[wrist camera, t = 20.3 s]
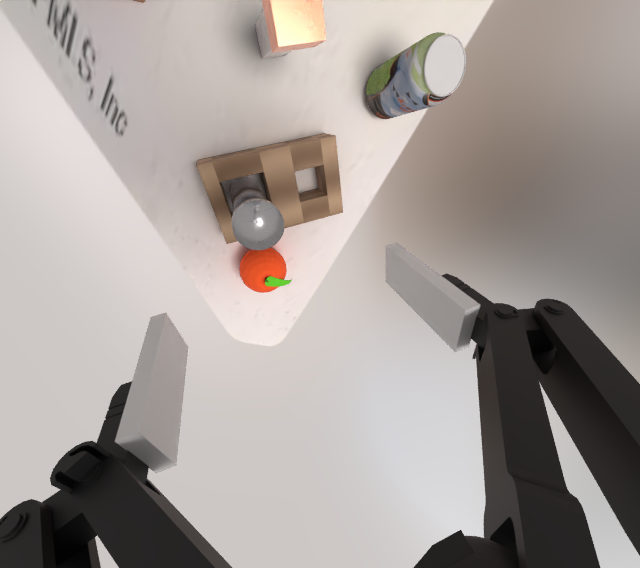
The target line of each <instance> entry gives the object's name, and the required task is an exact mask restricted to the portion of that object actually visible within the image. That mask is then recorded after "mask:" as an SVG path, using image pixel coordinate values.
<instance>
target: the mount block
mask: <svg viewBox="0 0 640 568" xmlns="http://www.w3.org/2000/svg"><path fill="white" fill-rule="evenodd" d="M196 166H197V168H198V171H199V174H200V176H201V179H202V181H203V184H204V187H205V189H206V192H207V194H208V197H209V199H210V202H211V205H212V207H213V210H214V212H215V215H216V217H217V220H218V223H219V225H220V228H221V230H222V233H223V235H224V238H225V241H226V243H227V244H228V243H232V242H236V241H238V240H237V239H236V238H235V236H234V233H233V230H232V213H231V210H230V207H229V204H228V201H227V199H226V196H225V193H224V190H223V187H222V184H221V182H222V181H226V180H231V179H235V178H240V177H244V176H248V175H253V174H257V173H261V174H262V178H263V182H264V186H265V190H266V193H267V197H268V201H270V202H272V203H273V204H274V205H275V206H276V207H277V208H278V210H279V211H280V213H281V214H282V216H283V219H284V228H287V227H291V226H295V225H298V224H302V223H306V222H309V221H313V220H317V219H320V218H324V217H328V216H332V215H335V214H339V213H343V207H342V197H341V187H340V177H339V166H338V156H337V146H336V136H335V135H330V134H325V133H324V134H319V135H315V136H310V137H305V138H300V139H296V140H291V141H286V142H281V143H277V144H272V145H267V146H262V147H258V148H253V149H248V150H243V151H239V152H234V153H229V154H225V155H220V156H215V157H210V158H206V159H201V160H198V161H197V165H196ZM311 167H316V174H317V181H318V188H319V189H315V190H311V191H307V192H303V193H298V188H297V183H296V178H295V172H294V171H299V170H303V169H307V168H311Z"/></svg>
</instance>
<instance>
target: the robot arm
mask: <svg viewBox="0 0 640 568" xmlns="http://www.w3.org/2000/svg"><path fill="white" fill-rule="evenodd" d="M386 282H387V283H388V284H389V285H390V286H391V287H392V288H393V289H394V290H395V291H396V292H397V293H398V294H399V295H400V297H402V299H403V300H404V301H405V302H406V303H407V304H408V305H409V306H411V308H412V309H413V310H414V311H415V312H416V313H417V314H418V315H419V316H420V317H421V318H422V319H423V320H424V321H425V322H426V323H427V324H428V325H429V326H430V327H431V328H432V329H433V330H434V331H435V332H436V333H437V334H438V335H439V336H440V337H441V338H442V339H443V340H444V341H445V342H446V343H447V344H448V345H449V346H450V347H451V348H452V349H453V350H454V351H455V352H457V351H460V350H462V349H465V348H467V347H469V343H470V340H471V339H473V341H475V342H476V343H477V345H476V348H475V351H474V354H473V359H475V358H476V362H477V377H478V391H479V406H480V421H481V436H482V450H483V465H484V480H485V494H486V506H485V513H484V538H481V537H477V536H464V534H463V533H462V531H461V530H460V531H458V532H456V533H454V534H452V535H450V536H449V537H447V538H445V539H443V540H441V541H439V542H438V543H436V544H434V545H432V546H431V548H430V549H429V550H428V551H427V553H426V554H425V555H424V556H423V557H422V559H421V560H420V561H419V562H418V563H417V564H416V565H415V567H414V568H600V565H599V562H598V558H597V555H596V551H595V548H594V544H593V541H592V537H591V534H590V530H589V527H588V523H587V520H586V516H585V513H584V511H583V508H582V506H581V504H580V502H579V501H578V499H577V498H576V497H574V496H573V495H572V494H570V493H569V491H568V489H567V487H566V484H565V481H564V477H563V473H562V469H561V465H560V462H559V457H558V454H557V450H556V446H555V442H554V438H553V434H552V430H551V426H550V423H549V419H548V415H547V411H546V407H545V403H544V399H543V396H542V392H541V388H540V384H539V382H540V383H541V385H542V387H543V389H544V391H545V393H546V394H547V396H548V398H549V400H550V401H551V403H552V405H553V407H554V408H555V410H556V412H557V414H558V415H559V417H560V419H561V420H562V422H563V424H564V426H565V427H566V429H567V431H568V433H569V435H570V436H571V438H572V440H573V442H574V443H575V445H576V447H577V449H578V450H579V452H580V454H581V455H582V457H583V459H584V461H585V463H586V464H587V466H588V468H589V470H590V471H591V473H592V475H593V476H594V478H595V480H596V482H597V484H598V485H599V487H600V489H601V491H602V492H603V494H604V496H605V498H606V499H607V501H608V503H609V505H610V506H611V508H612V510H613V512H614V513H615V515H616V517H617V519H618V520H619V522H620V524H621V526H622V527H623V529H624V531H625V533H626V534H627V536H628V537H629V539H630V541H631V542H632V544H633V546H634V547H635V549H636V550H637V552H638V554H639V555H640V384H639V383H638V382H637V381H636V379H635V378H634V377H633V376H632V375H631V374H630V373H629V372H628V371H627V370H626V368H625V367H624V366H623V365H622V364H621V363H620V362H619V360H617V358H616V357H615V356H614V355H613V354H612V353H611V352H610V350H609V349H608V348H607V347H606V346H605V345H604V344H603V343H602V341H601V340H600V339H599V338H598V337H597V336H596V335H595V334H594V333H593V331H592V330H591V329H590V328H589V327H588V326H587V325H586V324H585V323H584V321H583V320H582V319H581V318H580V317H579V316H578V315H577V313H576V312H575V311H574V310H573V309H572V308H571V307H570V306H568V305H567V304H565V303H563V302H561V301H558V300H554V299H541V300H539V301H537V303H536V305H535V308H531V309H520V310H517V309H516V308H515V307H512V306H510V305H507V304H502V303H495V304H494V303H492V302H491V301H489V300H488V299H487V298H485V297H484V296H482V295H481V294H479V293H478V292H477V291H475V290H474V289H472V288H470V286H468V285H467V284H464V282H462V281H461V280H459V279H458V278H457V277H454V276H451V275H449V274H444V275H442V276H441V275H440V274H438V273H437V272H435V271H434V270H433V269H432V268H430V267H429V266H427V265H426V264H425V263H423V262H422V261H421V260H420V259H418V258H417V257H416V256H414V255H413V254H411V253H410V252H409V251H407V250H406V249H405V248H403V247H402V246H401V245H399V244H398V243H394V244H391V245H387V246H386ZM187 352H188V346H187V344H186V343H185V341H184V340H183V338H182V337H181V335H180V334H179V332H178V330H177V329H176V327H175V326H174V325H173V323H172V321H171V320H170V318H169V317H168V315H167V314H166V313H163V314H160V315H157V316H153V317H151V318H150V322H149V326H148V329H147V332H146V336H145V339H144V343H143V346H142V349H141V353H140V356H139V360H138V363H137V367H136V370H135V374H134V377H133V380H132V382H129V383H126V384H123V385H121V386H120V387H119V389H118V390H117V391H116V393H115V394H114V396H113V397H112V400H111V403H110V406H109V411H108V412H107V415H106V417H105V418H106V420H105V421H104V423H103V426H102V429H101V432H100V435H99V438H98V441H97V443H95V442H93V441H88V442H84V443H81V444H79V445H77V446H75V447H74V448H73V449H71V450H70V451H68V452H67V453H66V454H65V455H64V456H63V457H62V458H61V459H60V460H59V462H58V463H57V465H56V466H55V468H54V469H53V472H52V474H51V477H50V481H51V485H53V486H55V487H57V488H59V489H61V490H60V491H58V492H57V493H55V494H54V495H52V496H51V497H49V498H48V499H46V500H45V501H43V502H42V503H41V502H39V501H36V500H32V499H31V500H28V501H24V502H22V503H21V504H18V505H17V506H15V507H13V508H12V509H11V510H10V511H9V512H7V513H6V514H5V515H4V516H3V517H2V518H1V519H0V568H101V567H100V562H99V557H98V551H97V546H96V541H95V537H96V536H97V535H98V537H99V538H100V540H101V541H102V543H103V544H104V546H105V547H106V549H107V550H108V552H109V553H110V555H111V556H112V558H113V559H114V561H115V562H116V564H117V565H118V567H119V568H232V567H231V566H230V565H229V564H228V563H227V562H226V561H225V560H224V558H223V557H222V556H221V555H220V554H219V553H218V552H217V551H216V550H215V549H214V548H213V547H212V546H211V545H210V544H209V543H208V542H207V541H206V539H205V538H204V537H202V535H201V534H200V533H199V532H198V531H197V530H196V529H195V528H194V527H193V526H192V525H191V524H190V523H189V522H188V521H187V519H186V518H185V517H184V516H183V515H182V514H181V513H180V512H179V511H178V510H177V509H176V508H175V507H174V506H173V505H172V504H171V503H170V502H169V501H168V499H167V498H166V497H165V496H164V495H163V494H162V493H161V492H160V491H159V490H158V489H157V488H156V487H155V486H154V485H153V484H152V483H151V482H150V481H149V480H148V479H147V474H148V468H150V469H151V470H153V471H154V472H155V473H158V472H160V471H163V470H165V469H167V468H170V467H172V466H175V465H176V462H177V452H178V442H179V433H180V423H181V412H182V402H183V392H184V383H185V372H186V363H187Z"/></svg>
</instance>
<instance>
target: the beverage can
mask: <svg viewBox="0 0 640 568" xmlns="http://www.w3.org/2000/svg"><path fill="white" fill-rule="evenodd" d="M465 67H466V55H465V50H464V47H463V45H462V43H461V41H460V40H459V39H458V38H457V37H456V36H454V35H451V34H445V33H433V34H431V35H428V36H427V37H425V38H423V39H422V40H420V41H419V42H417V43H415V44H414V45H412V46H411V47H409V48H407V49H406V50H404V51H403V52H401V53H399V54H398V55H396V56H395V57H393V58H391V59H390V60H388V61H387V62H385V63H383V64H382V65H380V66H379V67H377V68H376V69H375V70H374V71H373V72H372V74H371V76H370V78H369V80H368V83H367V88H366V97H367V102H368V105H369V108H370V109H371V111H372V112H373V113H374V115H376V116H377V117H379V118H382V119H389V118H393V117H396V116H400V115H403V114H407V113H411V112H414V111H418V110H421V109H425V108H428V107H432V106H435V105H438V104H440V103H442V102H444V101H445V100H446V99H447V98H448V97H449V96H450V95H451V94H452V93H453V92H454V91H455V90H456V89H457V87H458V86H459V85H460V83H461V81H462V78H463V76H464V72H465Z"/></svg>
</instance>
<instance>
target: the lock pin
mask: <svg viewBox="0 0 640 568" xmlns="http://www.w3.org/2000/svg"><path fill="white" fill-rule="evenodd" d="M262 3H263V10H262V12H261V14H260V16H259V18H258V20H257V22H256V24H255V28H256V33H257V38H258V43H259V47H260V52H261V57H262V59H264V58H270V57H277V56H284V55H287V54H288V53H289V52H291V51H292V50H296V49H303V48H310V47H315V46H317V45H319V44H320V43H322V42H323V41H325V40H326V34H325V24H324V14H323V4H322V0H262Z"/></svg>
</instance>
